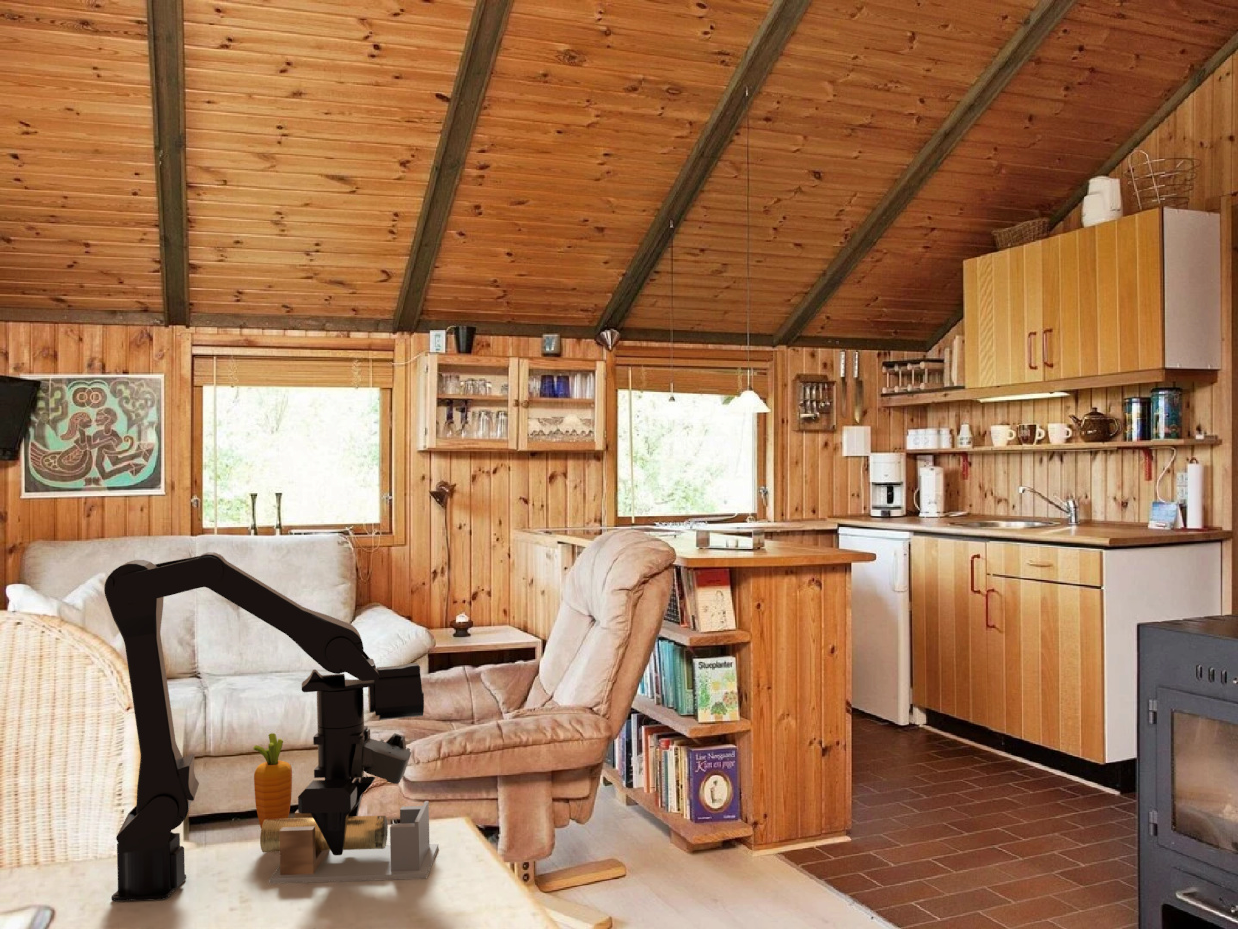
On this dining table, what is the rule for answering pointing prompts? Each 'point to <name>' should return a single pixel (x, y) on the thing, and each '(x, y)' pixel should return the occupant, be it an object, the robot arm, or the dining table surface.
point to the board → (358, 867)
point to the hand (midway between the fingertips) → (343, 846)
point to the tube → (358, 836)
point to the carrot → (272, 783)
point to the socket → (410, 838)
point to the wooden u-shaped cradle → (299, 849)
